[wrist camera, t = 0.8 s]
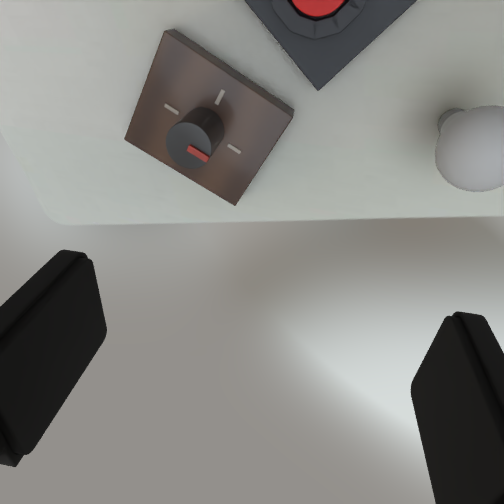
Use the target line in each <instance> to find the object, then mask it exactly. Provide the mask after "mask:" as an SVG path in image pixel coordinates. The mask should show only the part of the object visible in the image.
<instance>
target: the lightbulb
mask: <svg viewBox="0 0 504 504" xmlns="http://www.w3.org/2000/svg"><path fill="white" fill-rule="evenodd" d="M438 130H439V132H440V136H439V139H438V141H437V144H436V150H435V159H436V165H437V168H438V170H439V172H440V174H441V175H442V177H443V178H444V179H445V180H446V181H447V182H448V183H450V184H452V185H453V186H455V187H457V188H459V189H462V190H466V191H472V192H483V191H489V190H493V189H495V188H498V187H501V186H503V185H504V107H501V106H481V107H476V108H473V109H470V110H468V111H465V110H462V109H451V110H449V111H447V112H446V113H444V114H443V115H442V117H441V118H440V120H439V122H438Z"/></svg>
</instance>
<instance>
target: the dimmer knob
mask: <svg viewBox="0 0 504 504" xmlns="http://www.w3.org/2000/svg"><path fill="white" fill-rule="evenodd" d="M223 137H224V126H223V123H222V120H221V119H220V117H219V116H218V115H217V114H216V113H215V112H214V111H212V110H211V109H208V108H204V107H199V108H195V109H193V110H191V111H190V112H188V113H187V114H186V115H185V116H184V117H183V118H182V119H180V120H179V121H178V122H177V123H176V124H175V125H174V126H172V127H171V128H170V130H169V131H168V133H167V136H166V148H167V151H168V154H169V155H170V157H171V158H172V160H173V161H174V162H176V163H177V164H178V165H180V166H182V167H184V168H188V169H196V168H200V167H202V166H203V165H205V164H206V163H207V162H208V160H209V159H210V157H211V156H212V154H213V153H214V152H215V150H216V149H217V147H218V146H219V144H220V143H221V141H222V139H223Z"/></svg>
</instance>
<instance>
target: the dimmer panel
mask: <svg viewBox="0 0 504 504" xmlns="http://www.w3.org/2000/svg"><path fill="white" fill-rule="evenodd" d="M199 107H204V108H208V109H211V110H212V111H214V112H215V113H216V114H217V115H218V116H219V117H220V119H221V120H222V123H223V126H224V137H223V139H222V141H221V143H220V144H219V146H218V147H217V149H216V150H215V152H214V153H213V154H212V156H211V157H210V159H209V160H208V162H207V163H206V164H205V165H203V166H202V167H200V168H196V169H188V168H184V167H182V166H180V165H178V164H177V163H176V162H174V161H173V160H172V158H171V157H170V155H169V154H168V151H167V148H166V136H167V133H168V131H169V130H170V128H171V127H172V126H174V125H175V124H176V123H177V122H178V121H179V120H180V119H182V118H183V117H184V116H185V115H186V114H187V113H188V112H190V111H191V110H193V109H195V108H199ZM293 114H294V110H293V109H292V108H290V107H289V106H287V105H286V104H285V103H283V102H282V101H280V100H279V99H277V98H276V97H274V96H273V95H271V94H270V93H268V92H267V91H265V90H264V89H262V88H261V87H259V86H258V85H256V84H255V83H254V82H252V81H251V80H249V79H248V78H246V77H245V76H243V75H242V74H240V73H239V72H237V71H236V70H234V69H233V68H231V67H230V66H228V65H227V64H226V63H224V62H223V61H221V60H220V59H218V58H217V57H215V56H214V55H212V54H211V53H209V52H208V51H206V50H205V49H203V48H202V47H200V46H199V45H197V44H196V43H195V42H193V41H192V40H190V39H189V38H187V37H186V36H184V35H183V34H181V33H180V32H178V31H177V30H175V29H171V30H166V31H164V33H163V36H162V39H161V42H160V44H159V47H158V50H157V52H156V55H155V58H154V60H153V63H152V66H151V68H150V71H149V74H148V76H147V79H146V82H145V85H144V87H143V90H142V93H141V95H140V98H139V101H138V103H137V106H136V109H135V111H134V114H133V117H132V120H131V122H130V125H129V128H128V130H127V133H126V136H125V138H124V139H125V140H126V141H128V142H129V143H131V144H133V145H134V146H136V147H138V148H139V149H141V150H143V151H144V152H146V153H148V154H149V155H151V156H153V157H154V158H156V159H158V160H159V161H161V162H163V163H164V164H166V165H168V166H169V167H171V168H173V169H174V170H176V171H178V172H179V173H181V174H183V175H184V176H186V177H188V178H189V179H191V180H193V181H194V182H196V183H198V184H199V185H201V186H203V187H204V188H206V189H208V190H209V191H211V192H213V193H214V194H216V195H218V196H219V197H221V198H223V199H224V200H226V201H228V202H229V203H231V204H233V205H234V206H235V205H236V204H237V202H238V201H239V199H240V198H241V196H242V195H243V193H244V192H245V190H246V189H247V187H248V185H249V184H250V182H251V181H252V179H253V178H254V176H255V175H256V173H257V172H258V170H259V169H260V167H261V166H262V164H263V162H264V161H265V159H266V158H267V156H268V155H269V153H270V152H271V150H272V149H273V147H274V146H275V144H276V142H277V141H278V139H279V138H280V136H281V135H282V133H283V132H284V130H285V129H286V127H287V126H288V124H289V123H290V121H291V119H292V118H293Z"/></svg>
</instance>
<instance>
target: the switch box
mask: <svg viewBox="0 0 504 504" xmlns="http://www.w3.org/2000/svg"><path fill="white" fill-rule="evenodd" d="M245 1H246V3H247V4H248V5H249V6H250V8H251V9H252V10H253V11H254V12H255V14H256V15H257V16H258V17H259V19H260V20H261V21H262V22H263V24H264V25H265V26H266V27H267V29H268V30H269V31H270V32H271V34H272V35H273V36H274V37H275V39H276V40H277V41H278V42H279V43H280V45H281V46H282V47H283V48H284V50H285V51H286V52H287V53H288V55H289V56H290V57H291V58H292V60H293V61H294V62H295V63H296V65H297V66H298V67H299V68H300V69H301V71H302V72H303V73H304V74H305V76H306V77H307V78H308V79H309V81H310V82H311V83H312V84H313V86H314V87H315V88H316V89H317V91H319V90H320V89H321V88H322V87H323V86H324V85H325V84H326V83H327V82H328V81H330V80H331V79H332V78H333V77H334V76H335V75H336V74H337V73H338V72H339V71H340V70H342V69H343V68H344V67H345V66H346V65H347V64H348V63H349V62H350V61H351V60H352V59H354V58H355V57H356V56H357V55H358V54H359V53H360V52H361V51H362V50H363V49H364V48H366V47H367V46H368V45H369V44H370V43H371V42H372V41H373V40H374V39H375V38H376V37H378V36H379V35H380V34H381V33H382V32H383V31H384V30H385V29H386V28H387V27H388V26H390V25H391V24H392V23H393V22H394V21H395V20H396V19H397V18H398V17H399V16H400V15H402V14H403V13H404V12H405V11H406V10H407V9H408V8H409V7H410V6H411V5H412V4H414V3H415V2H416V1H417V0H344V1H343V3H342V4H341V5H340V6H339V7H338V8H337V9H336V10H334V11H333V12H331V13H329V14H327V15H324V16H310V15H307V14H305V13H303V12H302V11H300V10H299V9H298V8H297V7H296V6H295V4H294V3H293V1H292V0H245Z"/></svg>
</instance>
